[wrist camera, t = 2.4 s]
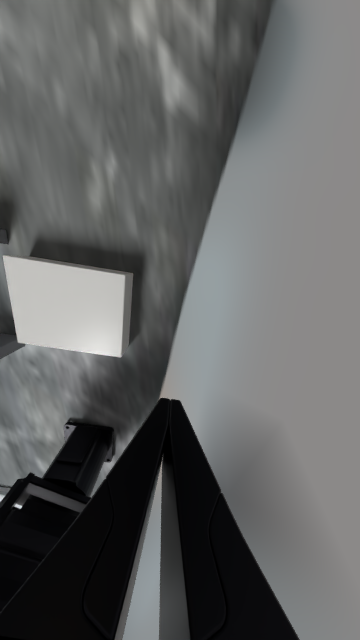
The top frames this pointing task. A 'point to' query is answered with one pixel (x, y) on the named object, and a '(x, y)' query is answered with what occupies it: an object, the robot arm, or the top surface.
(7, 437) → the top surface
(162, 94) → the top surface
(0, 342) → the dock
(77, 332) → the white flat block
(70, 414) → the top surface
